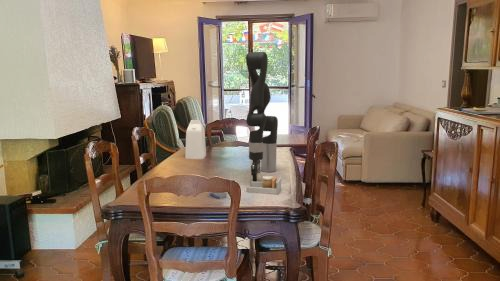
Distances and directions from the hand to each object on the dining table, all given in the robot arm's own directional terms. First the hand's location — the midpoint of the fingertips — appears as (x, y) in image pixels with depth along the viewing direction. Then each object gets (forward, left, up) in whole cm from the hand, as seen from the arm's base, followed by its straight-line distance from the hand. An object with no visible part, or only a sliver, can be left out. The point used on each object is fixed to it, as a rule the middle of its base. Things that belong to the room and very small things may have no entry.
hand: (255, 181), depth 215 cm
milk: (-53, -54, -1) cm, 76 cm away
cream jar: (0, 0, -1) cm, 1 cm away
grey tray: (+12, +7, -1) cm, 14 cm away
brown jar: (+12, +8, -1) cm, 15 cm away
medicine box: (+27, -13, -1) cm, 30 cm away
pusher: (+12, +12, 0) cm, 17 cm away
